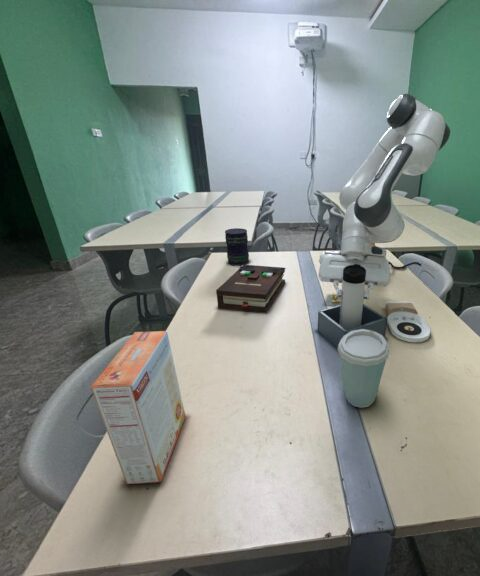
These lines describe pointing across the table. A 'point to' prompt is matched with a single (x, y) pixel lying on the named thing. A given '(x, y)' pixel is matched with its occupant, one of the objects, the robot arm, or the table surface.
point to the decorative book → (251, 288)
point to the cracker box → (141, 406)
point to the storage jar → (237, 246)
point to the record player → (406, 322)
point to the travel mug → (352, 296)
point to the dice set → (334, 300)
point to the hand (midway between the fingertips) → (352, 297)
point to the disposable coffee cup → (362, 365)
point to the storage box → (335, 332)
